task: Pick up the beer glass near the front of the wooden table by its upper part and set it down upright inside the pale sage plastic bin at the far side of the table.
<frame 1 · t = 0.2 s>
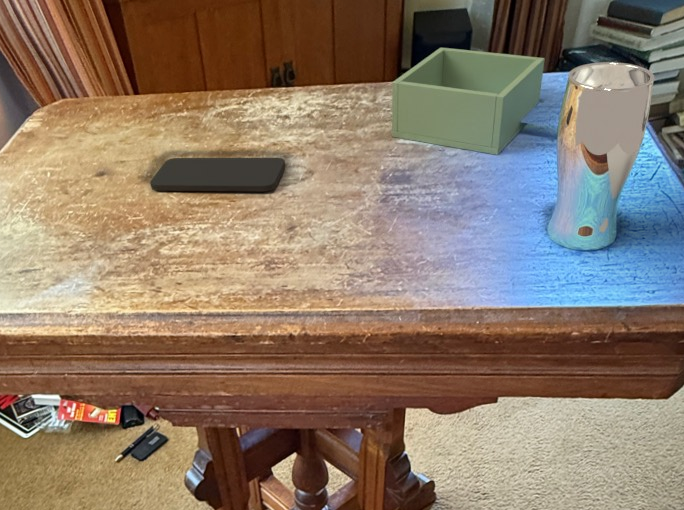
phone: (219, 178, 84), on the table
beer glass: (580, 235, 68), on the table
bin: (465, 124, 90), on the table
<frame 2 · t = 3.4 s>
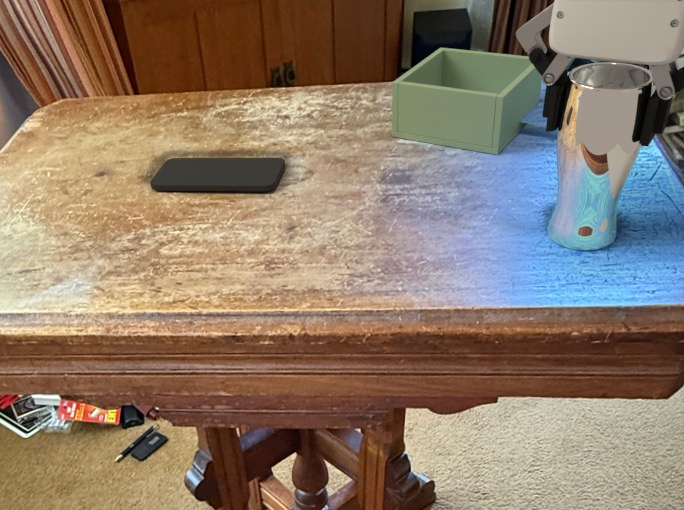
hand: (600, 131, 62), 10 cm above the table, tool pointing down, fingers closed on beer glass, 7 cm apart
beer glass: (580, 235, 68), on the table, touching gripper
everything else where it was.
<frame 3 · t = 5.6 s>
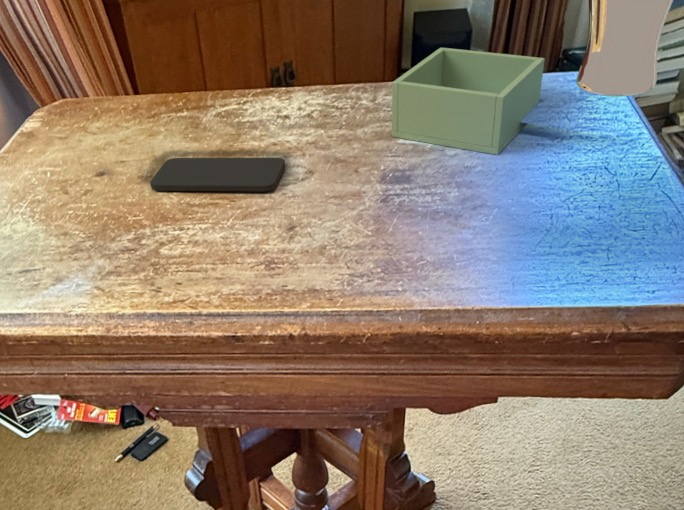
beer glass: (614, 85, 60), point 14 cm above the table, touching gripper
everything else where it was.
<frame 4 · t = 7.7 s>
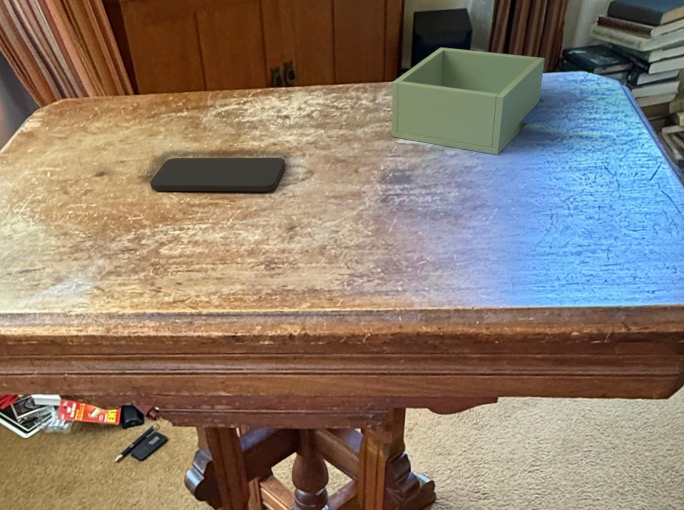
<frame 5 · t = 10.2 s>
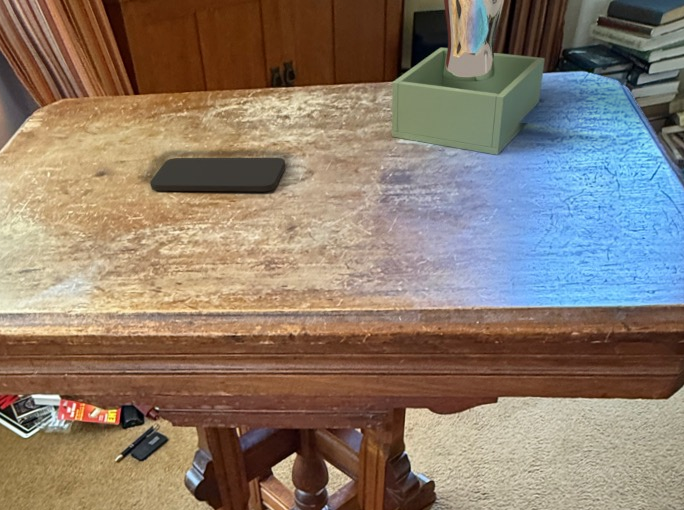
beer glass: (468, 75, 86), point 6 cm above the table, touching gripper
everything else where it was.
when the fingers open (11 cm above the table, at t = 12.1 s): beer glass stays where it is, resting on bin.
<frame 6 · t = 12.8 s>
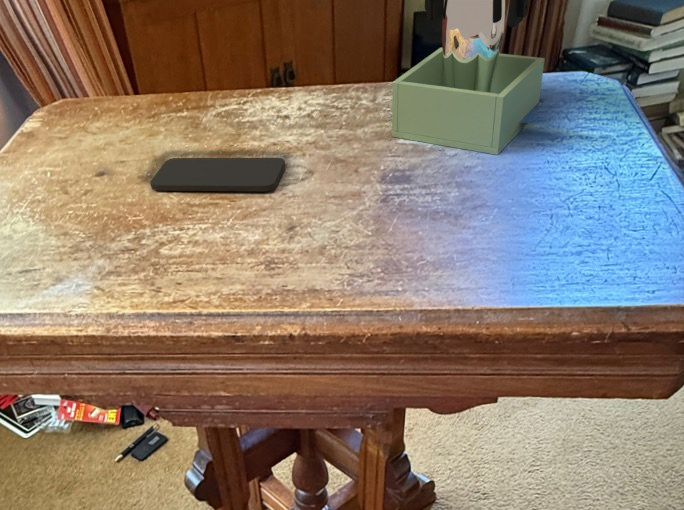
hand: (474, 20, 82), 12 cm above the table, tool pointing down, fingers open, 9 cm apart
beer glass: (466, 120, 90), point 1 cm above the table, touching bin
everything else where it was.
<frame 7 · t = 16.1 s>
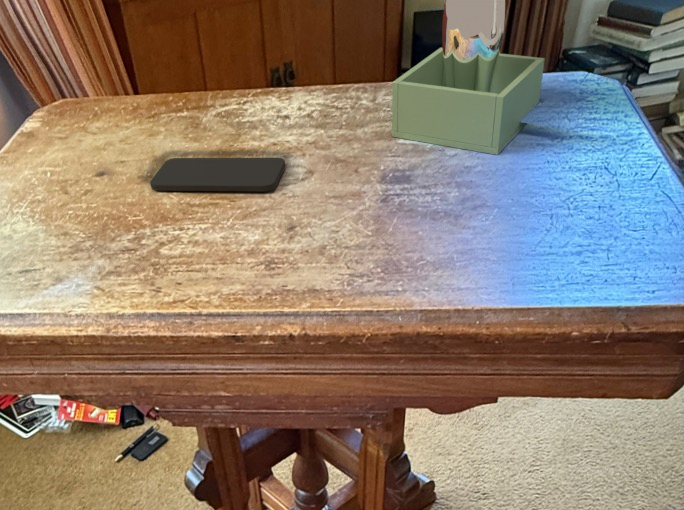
nothing on the table moved.
at the end: beer glass inside the target area in the bin (0.1 cm from its centre), point 0.6 cm above the bin's base; beer glass tilted 0°; the gripper is holding nothing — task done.
